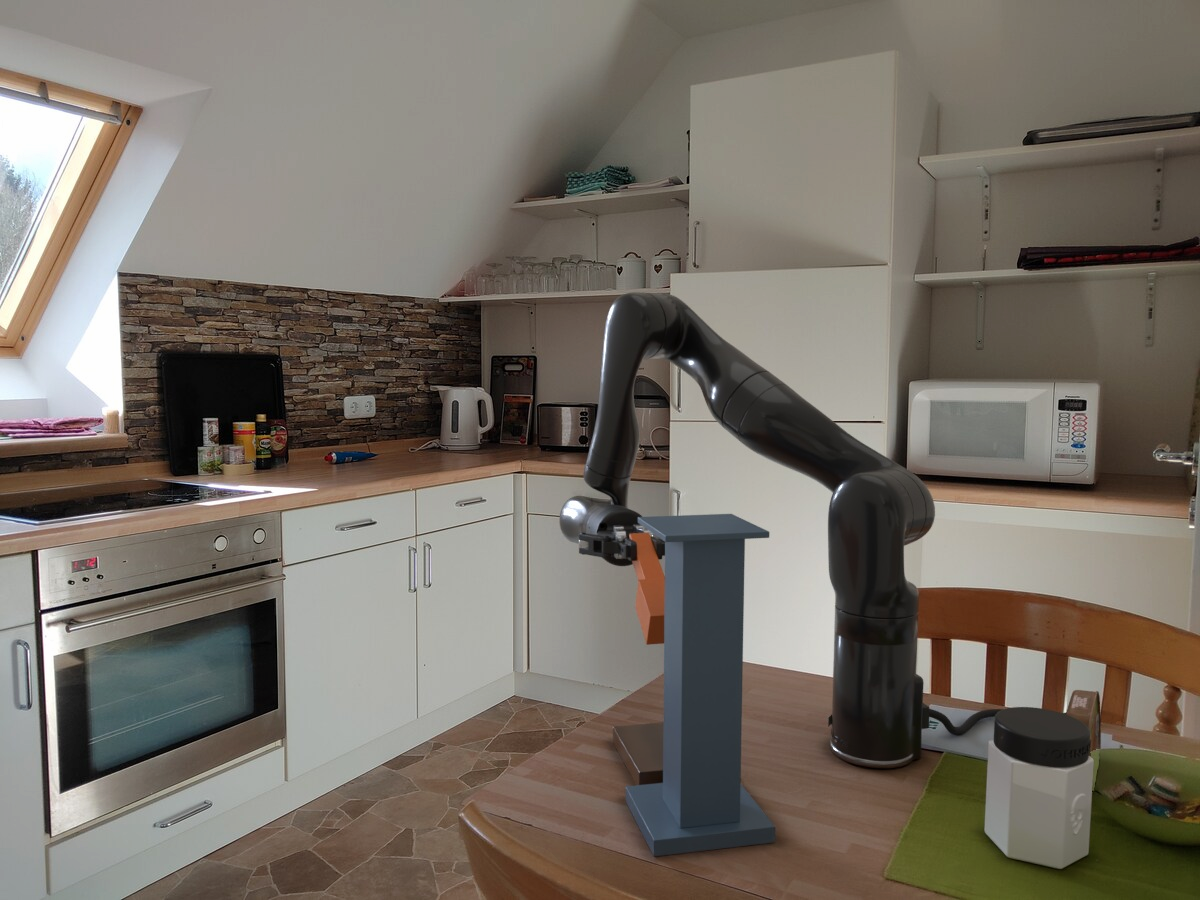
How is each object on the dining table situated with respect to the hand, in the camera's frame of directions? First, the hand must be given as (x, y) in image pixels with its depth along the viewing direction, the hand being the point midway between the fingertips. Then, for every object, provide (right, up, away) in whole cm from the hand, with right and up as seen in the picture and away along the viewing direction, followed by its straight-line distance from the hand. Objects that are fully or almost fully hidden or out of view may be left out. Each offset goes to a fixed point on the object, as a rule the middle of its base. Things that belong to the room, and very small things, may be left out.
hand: (646, 551), depth 107 cm
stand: (+4, -25, -15) cm, 30 cm away
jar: (+36, -26, -20) cm, 48 cm away
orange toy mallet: (+1, -5, -2) cm, 5 cm away
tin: (+48, -24, -5) cm, 54 cm away
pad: (+2, -24, -2) cm, 24 cm away
